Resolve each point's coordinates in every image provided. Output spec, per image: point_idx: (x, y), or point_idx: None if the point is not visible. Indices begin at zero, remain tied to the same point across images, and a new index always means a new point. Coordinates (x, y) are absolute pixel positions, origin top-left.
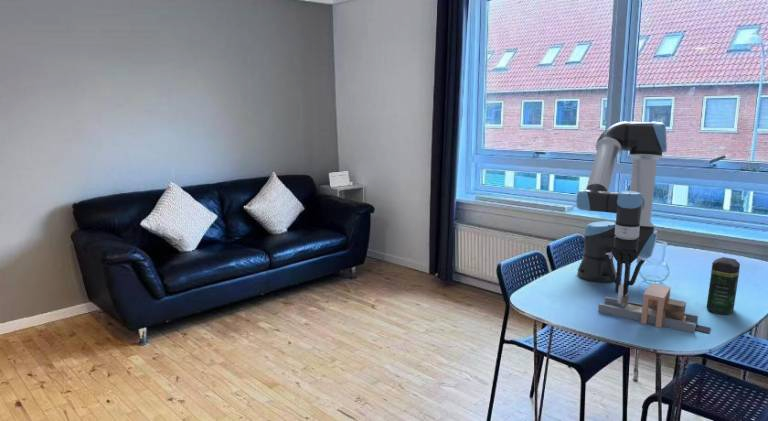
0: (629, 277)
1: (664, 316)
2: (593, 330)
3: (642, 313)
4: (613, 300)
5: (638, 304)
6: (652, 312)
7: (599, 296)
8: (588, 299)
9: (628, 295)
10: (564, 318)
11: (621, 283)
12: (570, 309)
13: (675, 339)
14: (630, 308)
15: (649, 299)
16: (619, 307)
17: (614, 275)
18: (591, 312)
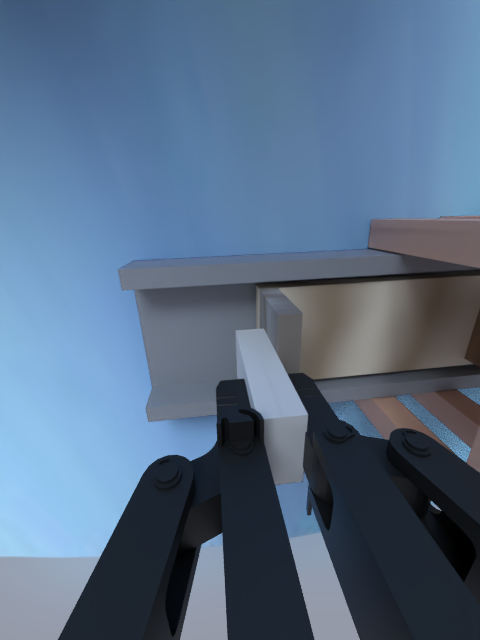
0: (409, 510)
1: (464, 346)
2: (216, 538)
3: (378, 427)
4: (185, 285)
5: (342, 276)
6: (413, 332)
7: (27, 123)
8: (11, 247)
9: (295, 307)
10: (85, 526)
11: (265, 421)
12: (41, 445)
13: (458, 444)
14: (305, 350)
15: (434, 258)
16: (232, 304)
17: (171, 549)
18: (135, 417)
